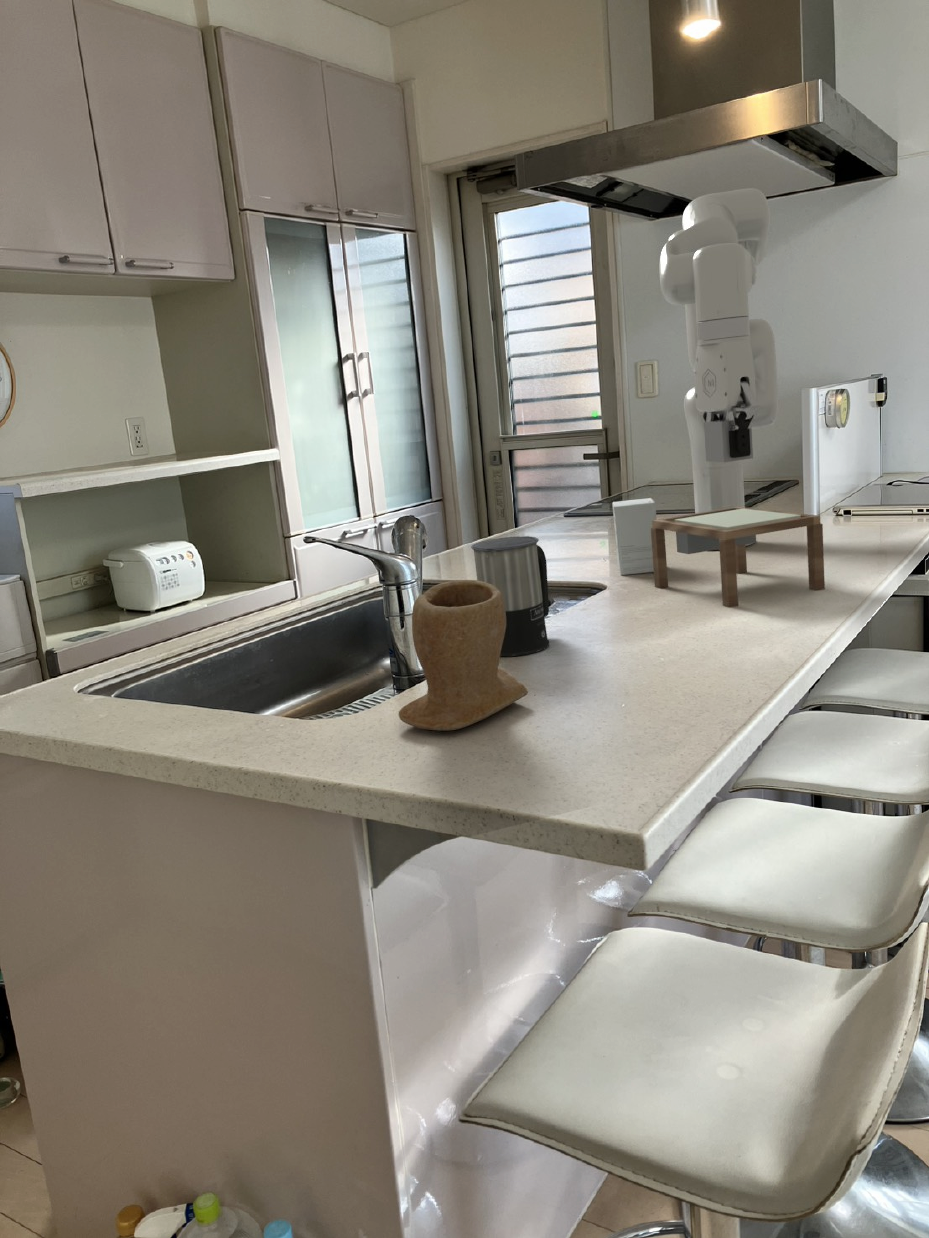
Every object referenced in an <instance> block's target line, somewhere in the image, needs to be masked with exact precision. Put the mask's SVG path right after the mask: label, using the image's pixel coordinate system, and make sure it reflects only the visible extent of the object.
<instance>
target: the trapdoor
mask: <svg viewBox="0 0 929 1238" xmlns="http://www.w3.org/2000/svg"><path fill="white" fill-rule="evenodd" d="M796 518H801V515H795V514H786V513H777V512H768V511H760V510H751V509H738V510H731V511H725V512H719V513H713V514H706V515H700V516H694V517H688V518H682V519H675V522H679V523H685V524H692V525H699V526H705V527H712V528H718V529H725V530H730V529H736V528H742V527H748V526H754V525H760V524H766V523H772V522H778V521H784V520H790V519H796ZM675 537H676V549H677V550H676V552H677V553H681V554H685V555H692V554H698V553H704V552H710V551H716V549H719V539H717V538H711V537H705V536H699V535H693V534H687V533H681V532H675ZM734 539H735V546H739V545H745V544H751V543H753V544H755V543H757V535H752V536H746V537H740V538H734ZM751 545H752V544H751Z"/></svg>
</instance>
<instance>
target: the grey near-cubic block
mask: <svg viewBox="0 0 929 1238" xmlns="http://www.w3.org/2000/svg"><path fill="white" fill-rule="evenodd" d="M749 430H750V450H751V454H750V455H749V456H744V457H737V458H731V457H730V445H729V431H733V430H732V429H731V424H730V420H729V419H722V420H715V421H707V422H704V433H705V450H706V461H707V462H731V461H738V460H742V461H744V460H751V459H754V450H753V432H752V431H753V429H752V427H751V428H750V429H749Z"/></svg>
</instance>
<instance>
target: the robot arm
mask: <svg viewBox="0 0 929 1238" xmlns="http://www.w3.org/2000/svg"><path fill="white" fill-rule="evenodd" d="M682 214H683V215H682V219H681V221H682V222H681V224H682V229H680V230H677V231H675V232H674V233H672V234H671V235H670V236H669V237H668V241H667V242H666V243H665V244H664V246H663V248H662V250H661V253H660V257H659V264H658V265H659V266H658V267H659V282H660V284H659V285H660V291H661V293H662V296H663V299H664V300H665V302H667V303H669V304H670V305H672V306H684V309H685V324H686V340H687V341H686V342H687V353H688V355H687V356H688V360H689V365H690V369H691V370H692V372H694V386H693V387H692V388H690V389H689V390H688V391H686V394H685V396H684V398H683V399H684V400H683V411H684V416H685V421H686V426H687V431H688V437H689V438H688V439H689V443H690V444H689V445H690V453H691V465H692V466H691V467H692V478H693V480H692V481H693V495H694V496H693V497H694V499H693V500H694V511H695V513H702V512H708V511H714V510H720V509H727V508H733V507H745V508H746V506H745V505H746V503H745V489H744V483H745V482H744V467H743V464H744V463H743V460H738V461H731V462H707V461H706V450H705V433H704V422H707V421H715V420H722V419H729V420H730V424H731V429H732V430H733V431H729V445H730V457H731V458H737V457H744V456H749V455H750V454H751V450H750V430H749V429H750V428H751V427H752V430H754V429H762V428H767V427H770V426H772V425H774V424H775V422H776V421H777V419H778V416H779V406H780V405H779V388H778V386H779V385H778V372H777V354H776V353H777V352H776V351H777V350H776V342H775V335H774V331H773V328H772V326H771V325H770V322H768V321H767V320H766V319H765V320H764V319H761V318H750V314H749V295H748V294H750V293H749V292H750V291H751V290H752V288H753V287H754V286H753V285H755V283H756V279H757V267H756V266H758V265H760V264H761V263H762V262H763V260H764V258H765V256H766V252H767V247H768V240H769V234H770V227H771V209H770V205H769V202H768V199H767V197H766V195H765V194H764V193H763V192H762V191H761V190H760V189H757V188H752V187H749V188H741V189H740V188H739V189H734V190H728V191H722V192H714V193H706V194H704V195H700V196H698V197H696V198H694V199H693V200H692V201H690V202H689V203H688V205H686V207H685V209H684V211H683V213H682ZM695 513H694V514H695ZM753 544H754V543H751V544H746V547H748V546H750V545H753ZM716 550H719V551H720V549H716ZM716 550H715V551H716Z"/></svg>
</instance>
